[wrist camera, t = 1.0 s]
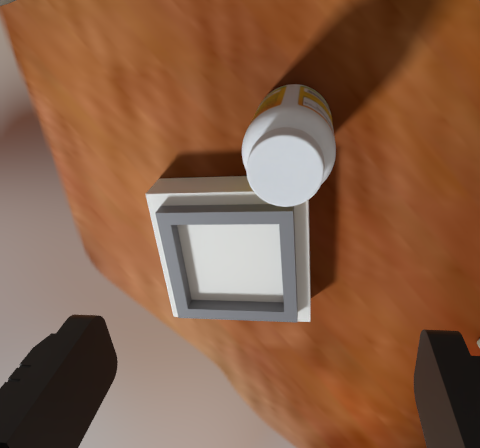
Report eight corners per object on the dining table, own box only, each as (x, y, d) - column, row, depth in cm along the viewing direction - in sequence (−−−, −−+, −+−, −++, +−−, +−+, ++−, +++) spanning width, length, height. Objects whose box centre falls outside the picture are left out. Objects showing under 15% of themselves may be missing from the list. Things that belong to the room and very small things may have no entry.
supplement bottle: (256, 156, 31) (233, 217, 22) (255, 82, 28) (230, 119, 20) (328, 159, 30) (334, 222, 21) (335, 82, 27) (343, 121, 19)
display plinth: (158, 178, 33) (139, 200, 29) (308, 173, 30) (307, 197, 27) (183, 295, 38) (169, 326, 35) (310, 298, 36) (310, 332, 33)
